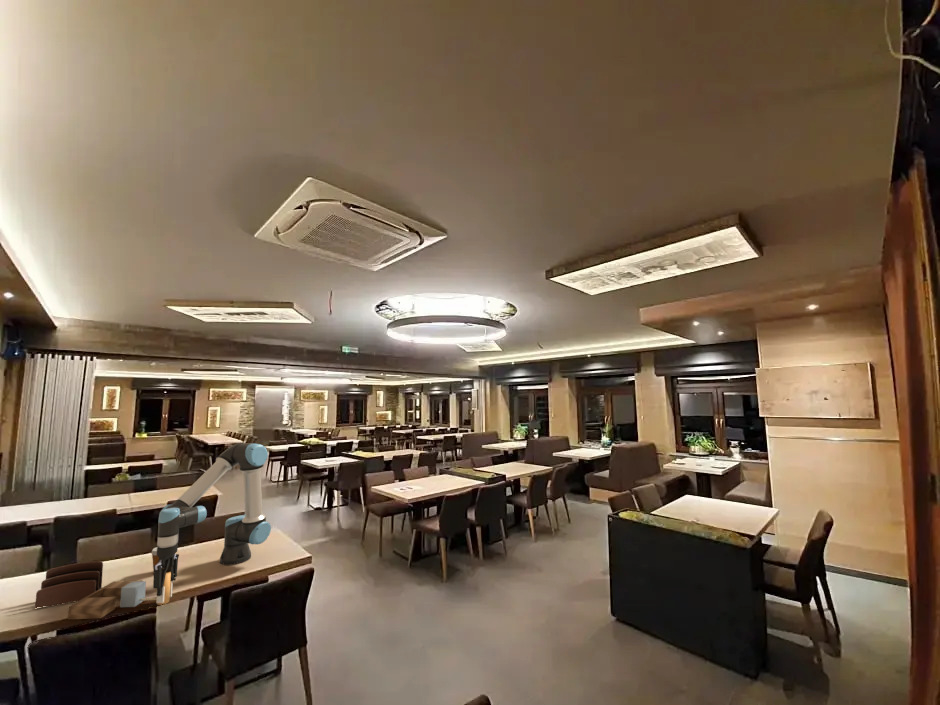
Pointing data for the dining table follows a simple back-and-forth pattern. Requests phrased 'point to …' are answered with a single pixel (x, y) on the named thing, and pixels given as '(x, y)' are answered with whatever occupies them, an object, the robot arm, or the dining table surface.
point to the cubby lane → (98, 602)
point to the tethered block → (141, 592)
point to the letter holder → (69, 583)
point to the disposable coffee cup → (155, 556)
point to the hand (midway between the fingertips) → (164, 599)
